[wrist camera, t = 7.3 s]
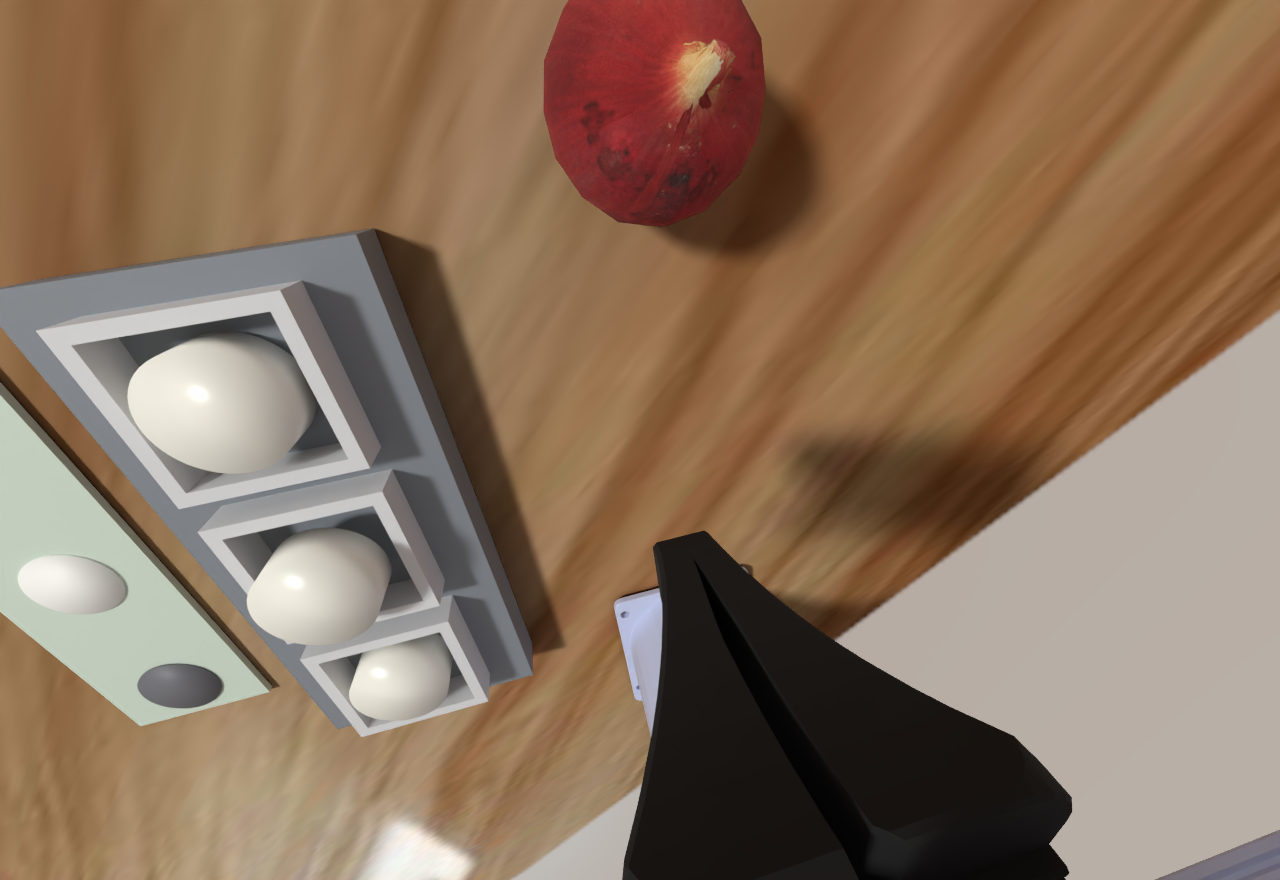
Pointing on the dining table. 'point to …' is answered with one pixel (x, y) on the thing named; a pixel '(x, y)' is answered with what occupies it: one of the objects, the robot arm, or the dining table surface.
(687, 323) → the dining table surface
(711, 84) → the onion
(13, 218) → the dining table surface
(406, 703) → the button far
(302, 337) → the button board
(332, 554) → the button middle
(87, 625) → the card
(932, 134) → the dining table surface
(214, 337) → the button near
